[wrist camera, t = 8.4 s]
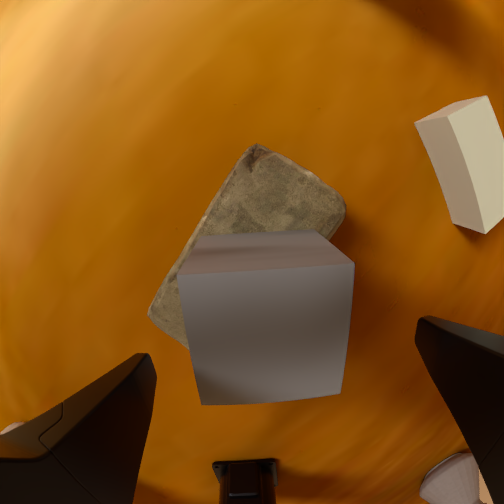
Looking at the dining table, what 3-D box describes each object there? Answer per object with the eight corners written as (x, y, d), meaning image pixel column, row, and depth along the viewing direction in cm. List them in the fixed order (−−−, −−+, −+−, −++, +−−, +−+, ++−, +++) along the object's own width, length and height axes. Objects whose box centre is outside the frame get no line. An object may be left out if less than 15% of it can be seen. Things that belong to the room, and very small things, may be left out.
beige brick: (486, 194, 17) (519, 201, 13) (451, 222, 18) (485, 234, 14) (452, 102, 15) (486, 95, 11) (412, 123, 16) (447, 116, 12)
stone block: (329, 194, 17) (360, 203, 12) (232, 335, 20) (230, 381, 15) (250, 141, 16) (252, 129, 11) (159, 294, 19) (135, 333, 14)
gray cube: (312, 327, 14) (340, 393, 9) (212, 334, 14) (201, 405, 9) (314, 229, 13) (354, 263, 8) (200, 236, 13) (176, 274, 8)
